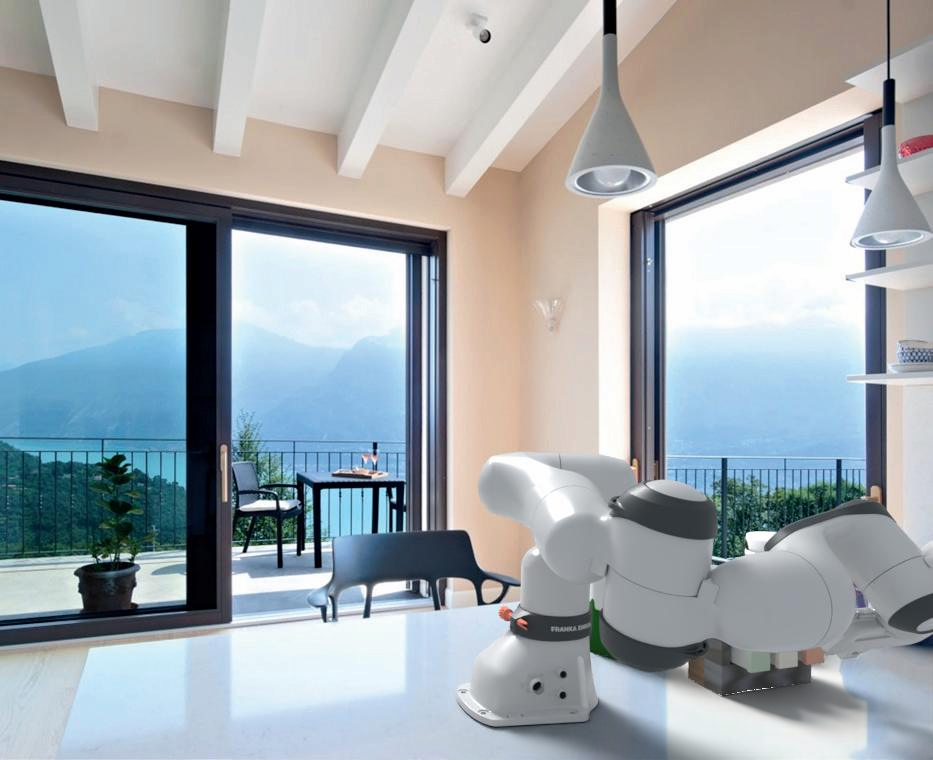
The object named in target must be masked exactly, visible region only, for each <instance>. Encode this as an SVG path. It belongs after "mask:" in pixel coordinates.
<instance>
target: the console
mask: <svg viewBox="0 0 933 760" xmlns="http://www.w3.org/2000/svg"><path fill="white" fill-rule="evenodd" d="M707 641H708V643H709V650H708V652H707V653H706V654H705V656H704V657H702V658H700V659H698V660H692V659H691V660H690V661H688V662H687V664H688V665H687V667H688V669H687V670H688V671H687V676H688V677H687V679H689V678H690V679H691V681H692V680H694V681H695V683H696V682H697V683H696V684H698V683H699V684H698V685H700V686H702V687H703V686H704V687H703V688H705V687H706V688H705V689H707V688H708V689H707V690H709V689H710V690H709V691H711V690H712V691H711V692H713V691H714V692H716V693H718V694H720V695H726V694H732V693H737V692H742V691H747V690H754V689H755V690H756V689H762V688H770V689H772V688H771V687H777V688H780V687H779V686H783V687H786V686H785V685H790V686H793V685H792V684H796V685H800V684H799V683H802V684H808V682H809V683H812V664H811V665H805V664H803V662H802V661H800V660H798V666H797V667H790V668H783V669H778V668H776V667H775V665H773V664H771V663H770V670H769V671H762V672H755V673H750V672H748V671H747V669H745V668H743V667H741V666H739V665H737V664H735V663H732V662H730V645H729V644H727V643H725V642H723V641H722V640H719V639H716V638H709V639H707ZM690 679H689V680H690ZM694 681H693V682H694ZM714 692H713V693H714ZM716 693H715V694H716ZM718 694H717V695H718ZM720 695H719V696H720ZM732 695H733V694H732ZM726 696H727V695H726Z"/></svg>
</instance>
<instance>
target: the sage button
mask: <svg viewBox="0 0 933 760" xmlns="http://www.w3.org/2000/svg"><path fill="white" fill-rule="evenodd" d="M730 662H732V663H735V664H737V665H739V666H741V667H743V668H745V669H747V671H748V672H750V673H755V672H762V671H769V670H770V653H766V652H754V651H748V650H742V649H738V648H735V647H733V646H731V645H730Z"/></svg>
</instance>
